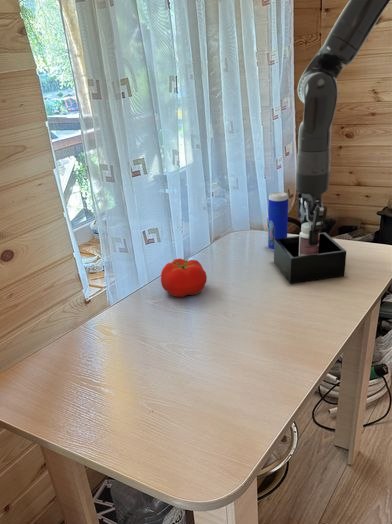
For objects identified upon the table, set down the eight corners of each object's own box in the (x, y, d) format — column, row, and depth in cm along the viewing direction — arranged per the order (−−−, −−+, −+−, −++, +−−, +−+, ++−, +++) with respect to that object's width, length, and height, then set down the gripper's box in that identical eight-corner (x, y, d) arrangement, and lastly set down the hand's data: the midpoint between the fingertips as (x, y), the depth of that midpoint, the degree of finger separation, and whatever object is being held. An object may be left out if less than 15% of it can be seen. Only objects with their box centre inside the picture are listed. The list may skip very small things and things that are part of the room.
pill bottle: (321, 259, 126) (323, 226, 122) (302, 262, 126) (303, 229, 121) (314, 252, 130) (315, 220, 126) (296, 255, 130) (297, 222, 125)
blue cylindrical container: (266, 246, 145) (266, 192, 137) (284, 244, 145) (285, 190, 137) (270, 252, 141) (271, 198, 133) (289, 250, 141) (290, 196, 133)
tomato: (212, 297, 121) (210, 268, 116) (166, 305, 119) (162, 275, 115) (201, 279, 129) (199, 251, 125) (159, 286, 128) (155, 258, 124)
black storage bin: (323, 256, 136) (325, 232, 133) (344, 276, 125) (346, 251, 121) (273, 262, 135) (274, 238, 131) (290, 284, 124) (291, 258, 120)
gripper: (341, 175, 111) (335, 249, 120) (317, 160, 123) (313, 229, 132) (308, 179, 110) (304, 253, 120) (287, 164, 122) (285, 233, 131)
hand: (309, 240), depth 126 cm, fingers closed on pill bottle, 4 cm apart
